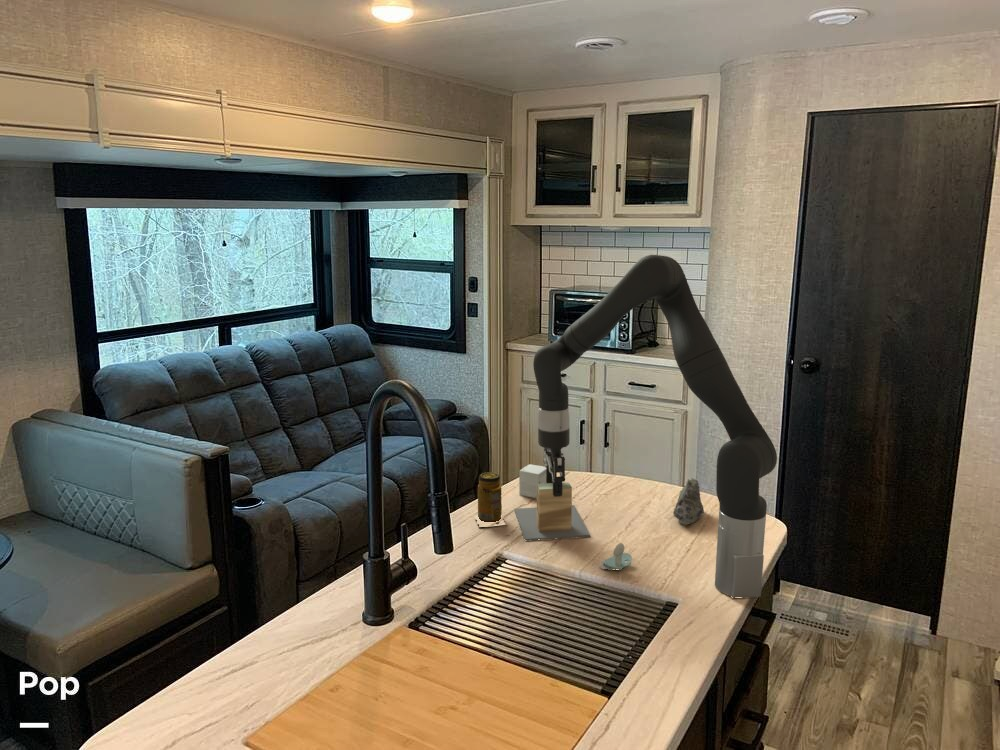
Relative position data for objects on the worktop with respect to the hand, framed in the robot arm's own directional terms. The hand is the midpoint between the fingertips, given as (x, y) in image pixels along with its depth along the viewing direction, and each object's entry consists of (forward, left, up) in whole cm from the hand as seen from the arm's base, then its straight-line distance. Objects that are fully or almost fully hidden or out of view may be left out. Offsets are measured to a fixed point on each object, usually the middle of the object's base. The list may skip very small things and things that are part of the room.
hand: (554, 489), depth 186 cm
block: (0, 0, -10) cm, 10 cm away
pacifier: (-20, -10, -11) cm, 25 cm away
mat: (+4, 0, -11) cm, 12 cm away
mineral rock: (+3, -35, -11) cm, 36 cm away
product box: (+24, +1, -11) cm, 27 cm away
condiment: (+8, +15, -11) cm, 20 cm away
